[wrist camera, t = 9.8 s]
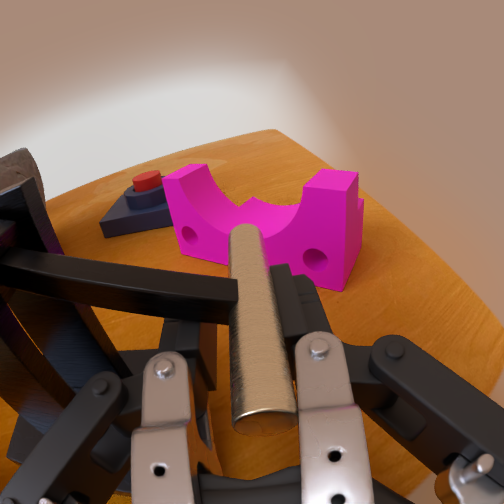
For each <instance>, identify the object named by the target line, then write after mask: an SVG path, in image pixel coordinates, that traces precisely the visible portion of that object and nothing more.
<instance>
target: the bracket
mask: <svg viewBox="0 0 504 504" xmlns="http://www.w3.org/2000/svg"><path fill="white" fill-rule="evenodd" d="M0 219H1V220H9V221H15V222H16V226H17V231H18V237H19V241H20V246H21V248H23V249H28V250H34V251H40V252H46V253H52V254H58V255H64V252H63V250H62V248H61V246H60V243H59V241H58V239H57V236H56V234H55V232H54V229H53V227H52V224H51V222H50V219H49V217H48V214H47V211H46V209H45V206H44V203H43V201H42V198H41V195H40V192H39V189H38V186H37V183H36V180H35V177H30V178H28V179H25V180H23V181H20V182H18V183H16V184H14V185H11V186H9V187H7V188H5V189H3V190H0ZM64 256H65V255H64ZM8 305H9V306H10V308H11V309H12V311H13V312H14V314H15V315H16V317H17V319H18V320H19V322H20V323H21V324H22V326H23V327H24V329H25V330H26V332H27V333H28V334H29V336H30V337H31V339H32V340H33V341H34V343H35V344H36V345H37V347H38V348H39V349H40V351H41V352H42V353H43V355H42V354H41V353H40V351H39V350H38V349H37V347H36V346H35V345H34V343H33V342H32V341H31V339H30V338H29V337H28V335H27V334H26V332H25V331H24V330H23V328H22V327H21V325H20V324H19V322H18V321H17V319H16V318H15V316H14V315H13V313H12V312H11V310H10V309H9V307H8ZM8 305H7V304H6V302H5V301H4V299H3V297H2V296H1V294H0V397H1V398H2V399H3V400H4V401H6V402H7V403H8V404H9V405H10V406H11V407H12V408H13V409H14V410H15V411H16V412H17V413H18V414H19V417H18V419H17V422H16V425H15V429H14V432H13V435H12V438H11V441H10V445H9V448H8V452H7V456H6V457H7V458H8V459H10V460H11V461H13V462H14V463H16V464H17V465H19V466H21V465H22V463H23V462H24V461H25V459H26V458H27V457H28V455H29V454H30V453H31V451H32V450H33V449H34V447H35V446H36V445H37V444H38V442H39V441H40V440H41V438H42V437H43V436H44V435H45V433H46V432H47V431H48V429H49V428H50V427H51V426H52V424H53V423H54V422H55V421H56V419H57V418H58V417H59V416H60V414H61V413H62V412H63V411H64V409H65V408H66V407H67V406H68V404H69V403H70V402H71V401H72V399H73V398H74V397H75V396H76V395H77V393H78V392H79V391H80V390H81V389H82V387H83V386H84V385H85V384H86V383H87V381H88V380H89V379H90V378H91V377H92V376H94V375H95V374H97V373H99V372H103V371H110V372H113V373H115V374H116V375H117V376H118V377H119V378H120V379H124V378H127V377H130V376H133V375H136V374H139V373H141V372H143V371H144V368H145V365H146V364H147V362H148V361H149V360H150V359H151V358H152V357H153V356H155V355H157V354H158V349H147V350H127V351H117V350H116V348H115V346H114V345H113V343H112V342H111V340H110V339H109V337H108V335H107V334H106V332H105V330H104V329H103V327H102V325H101V324H100V322H99V320H98V319H97V317H96V315H95V313H94V312H93V310H92V308H91V306H89V305H84V304H79V303H74V302H69V301H65V300H60V299H55V298H51V297H46V296H42V295H37V294H33V293H29V292H25V291H21V290H16V292H15V293H14V295H13V296H12V297H11V299H10V300H9V302H8ZM110 426H111V425H110ZM110 426H109V427H110ZM109 427H108V429H109ZM108 429H107V430H108ZM107 430H106V431H107ZM106 431H105V433H106ZM105 433H104V434H105ZM104 434H103V435H104ZM102 437H103V436H102ZM102 437H101V438H102ZM101 438H100V439H101ZM99 441H100V440H99ZM99 441H98V442H99ZM98 442H97V444H98ZM97 444H96V445H97ZM96 445H95V446H96ZM95 446H94V448H95ZM94 448H93V449H94ZM93 449H92V450H93ZM113 494H118V495H124V496H130V497H132V490H131V468H130V470H129V471H128V473H127V474H126V476H125V477H124V479H123V480H122V481H121V483H120V484H119V486H118V487H117V489H116V490H115V492H114V493H113Z"/></svg>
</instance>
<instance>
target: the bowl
mask: <svg viewBox="0 0 504 504" xmlns="http://www.w3.org/2000/svg"><path fill="white" fill-rule="evenodd" d="M30 177H35V180H36V183H37V186H38V189H39V192H40V195H41V198H42V201H43V203H44V206H45V209H46V204H45V195H44V188H43V183H42V179H41V176H40V172H39V170H38V167H37V165H36V162H35V161H34V158H33V157H32V155H31V154H30V152H29V151H28V149H27V148H21V149H18V150H15V151H14V152H12V153H10V154H8V155H6V156H4V157H2V158H0V190H3V189H5V188H7V187H9V186H11V185H14V184H16V183H18V182H20V181H23V180H25V179H28V178H30Z"/></svg>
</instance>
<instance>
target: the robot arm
mask: <svg viewBox="0 0 504 504" xmlns="http://www.w3.org/2000/svg"><path fill="white" fill-rule="evenodd" d="M269 267H270V272H271V277H272V281H273V286H274V291H275V296H276V301H277V306H278V311H279V316H280V321H281V326H282V331H283V336H284V341H285V346H286V351H287V356H288V361H289V366H290V371H291V376H292V381H293V380H295V385H296V390H297V408H298V413H299V421H298V430H299V463H300V465H297V466H291V467H287V468H285V469H282V470H280V471H277V472H274V473H271V474H269V475H266V476H263V477H260V478H257V479H254V480H242V479H235V478H229V477H224V476H223V472H222V468H221V465H220V462H219V460H218V457H217V454H216V449H215V442H214V436H213V429H212V422H211V415H210V408H209V405H208V391H215V390H217V324H212V323H203V322H194V321H186V320H178V319H170V318H164V323H163V328H162V333H161V338H160V343H159V349H158V354H157V355H155V356H153V357H152V358H151V359H150V360H149V361H148V362H147V364H146V365H145V368H144V371H143V372H141V373H139V374H136V375H133V376H130V377H127V378H124V379H120V378H119V377H118V376H117V375H116V374H115V373H113V372H110V371H103V372H99V373H97V374H95V375H94V376H92V377H91V378H90V379H89V380H88V381H87V383H86V384H85V385H84V386H83V387H82V389H81V390H80V391H79V392H78V393H77V395H76V396H75V397H74V398H73V399H72V401H71V402H70V403H69V404H68V406H67V407H66V408H65V409H64V411H63V412H62V413H61V414H60V416H59V417H58V418H57V419H56V421H55V422H54V423H53V424H52V426H51V427H50V428H49V429H48V431H47V432H46V433H45V435H44V436H43V437H42V438H41V440H40V441H39V442H38V444H37V445H36V446H35V447H34V449H33V450H32V451H31V453H30V454H29V455H28V457H27V458H26V459H25V461H24V462H23V463H22V465H21V466H20V467H19V469H18V470H17V471H16V473H15V474H14V475H13V477H12V478H11V480H10V481H9V482H8V484H7V485H6V487H5V488H4V489H3V491H2V492H1V494H0V504H106V503H107V502H108V500H109V499H110V497H111V496H112V494H113V493H114V492H115V490H116V489H117V487H118V486H119V484H120V483H121V481H122V480H123V479H124V477H125V476H126V474H127V473H128V471H129V470H130V468H131V490H132V504H415V503H413V502H411V501H409V500H408V499H406V498H404V497H402V496H401V495H399V494H397V493H396V492H394V491H393V490H391V489H389V488H388V487H386V486H385V485H383V484H381V483H380V482H378V481H377V480H375V479H374V478H372V477H371V471H370V463H369V456H368V450H367V443H366V437H365V431H364V425H363V419H362V414H361V410H360V408H361V409H362V411H363V412H365V413H366V414H367V415H368V416H369V417H370V418H371V419H372V420H373V421H375V422H376V423H377V424H378V425H379V426H380V427H381V428H382V429H383V430H385V431H386V432H387V433H388V434H389V435H390V436H391V437H393V438H394V439H395V440H396V441H397V442H398V443H399V444H401V445H402V446H403V447H404V448H405V449H406V450H408V451H409V452H410V453H411V454H412V455H413V456H415V457H416V458H417V459H418V460H419V461H420V462H422V463H423V464H424V465H425V466H426V467H428V468H429V469H430V470H431V471H432V472H434V473H435V474H436V475H437V478H436V480H435V486H434V489H435V493H436V496H437V497H438V498H439V500H440V501H441V502H442V504H503V503H504V408H502V407H501V406H499V405H498V404H497V403H495V402H494V401H493V400H491V399H490V398H489V397H487V396H486V395H485V394H483V393H482V392H481V391H479V390H478V389H476V388H475V387H474V386H472V385H471V384H470V383H468V382H467V381H466V380H464V379H463V378H461V377H460V376H459V375H457V374H456V373H455V372H453V371H452V370H450V369H449V368H448V367H446V366H445V365H443V364H442V363H441V362H439V361H438V360H436V359H435V358H434V357H432V356H431V355H429V354H428V353H427V352H425V351H424V350H422V349H421V348H420V347H418V346H417V345H415V344H414V343H413V342H411V341H410V340H408V339H407V338H405V337H403V336H400V335H386V336H383V337H381V338H379V339H378V340H376V341H375V343H374V344H373V346H355V345H349V344H346V343H344V342H342V341H340V340H339V338H338V337H336V336H335V335H334V334H333V332H332V330H331V328H330V325H329V322H328V319H327V317H326V314H325V311H324V309H323V306H322V304H321V301H320V298H319V296H318V293H317V290H316V288H315V285H314V283H313V281H312V280H311V279H310V278H308V277H307V276H306V275H305V274H300V275H294V276H292V273H291V270H290V267H289V264H288V263H283V264H277V265H270V266H269ZM110 425H111V426H110ZM109 426H110V427H109ZM108 427H109V429H108ZM107 429H108V430H107ZM106 430H107V431H106ZM105 431H106V433H105ZM104 433H105V434H104ZM103 434H104V435H103ZM102 436H103V437H102ZM101 437H102V438H101ZM100 438H101V439H100ZM99 440H100V441H99ZM98 441H99V442H98ZM97 442H98V444H97ZM96 444H97V445H96ZM95 445H96V446H95ZM94 446H95V448H94ZM93 448H94V449H93ZM92 449H93V450H92Z"/></svg>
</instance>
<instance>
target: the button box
mask: <svg viewBox="0 0 504 504" xmlns="http://www.w3.org/2000/svg"><path fill="white" fill-rule="evenodd" d="M163 177H165V176H161V178H163ZM99 224H100V226H101V229H102V232H103V234H104V237H105V238H108V237H113V236H118V235H124V234H129V233H134V232H140V231H145V230H150V229H156V228H162V227H167V226H173V221H172V218H171V214H170V210H169V206H168V203H167V199H166V195H165V191H164V187H163V184H162V185H160V186H158V187H156V188H153V189H151V190H148V191H143V192H135V188H134V185H133V186H131V187H129V188H127V190H126V191H125V192H124V195H121V196H120V198H119V199H118V200H117V201H116V202H115V204H114V205H113V206H112V207H111V208H110V210H109V211H108V212H107V213H106V215H105V216H104V217H103V218H102V220H101V221H100V222H99Z"/></svg>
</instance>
